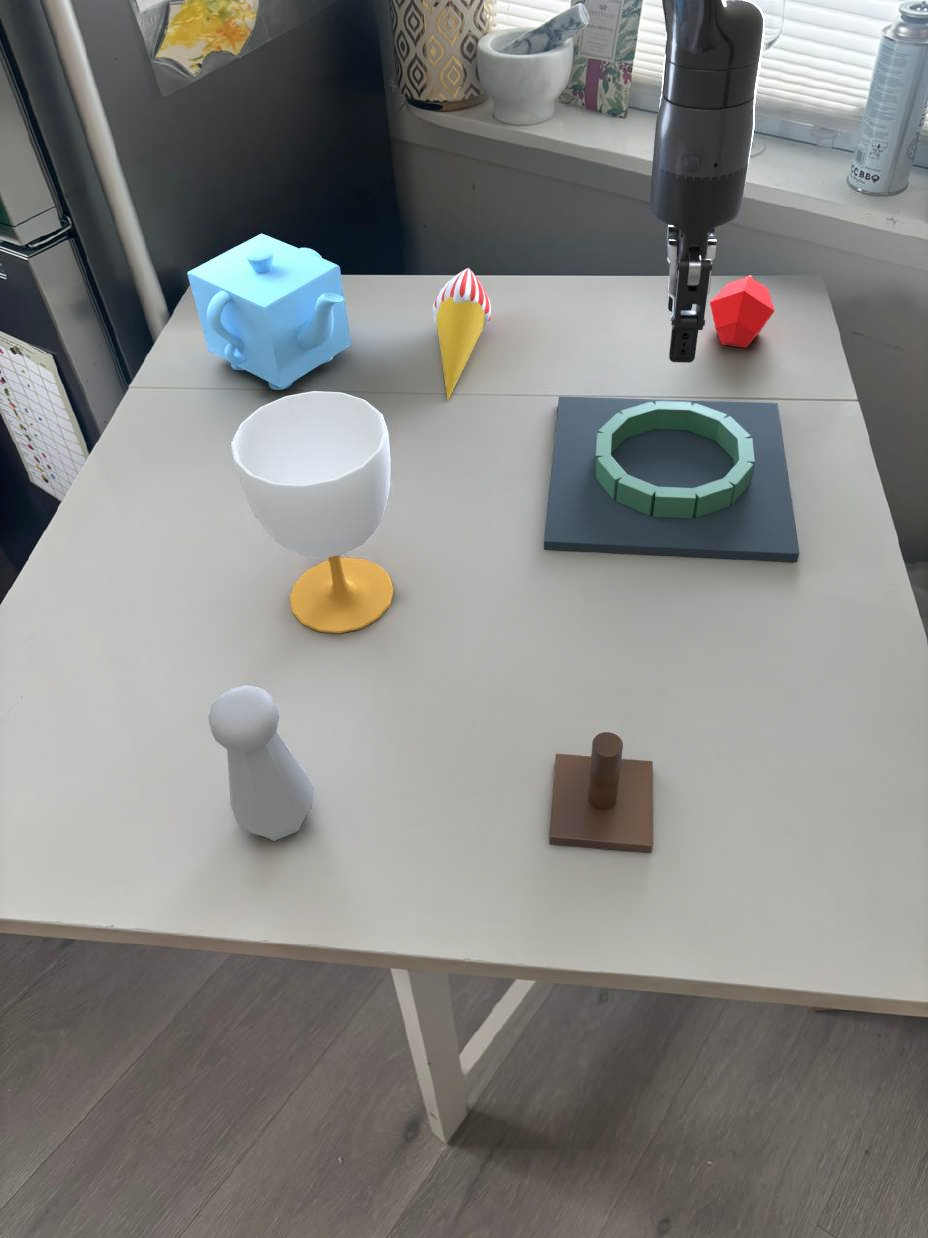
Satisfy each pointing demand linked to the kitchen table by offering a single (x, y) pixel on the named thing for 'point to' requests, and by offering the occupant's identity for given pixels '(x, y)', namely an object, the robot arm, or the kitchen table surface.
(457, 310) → the ice cream cone
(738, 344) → the red faceted gem
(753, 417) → the mat
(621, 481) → the ring
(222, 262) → the teapot
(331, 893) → the kitchen table surface
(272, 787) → the white game pawn
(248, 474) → the cup
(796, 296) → the kitchen table surface
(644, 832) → the ring toss
